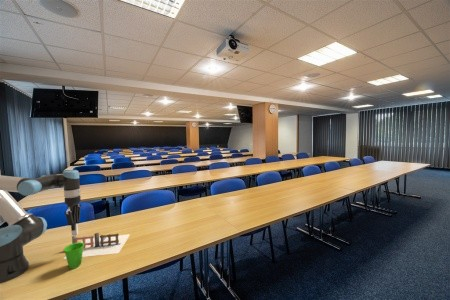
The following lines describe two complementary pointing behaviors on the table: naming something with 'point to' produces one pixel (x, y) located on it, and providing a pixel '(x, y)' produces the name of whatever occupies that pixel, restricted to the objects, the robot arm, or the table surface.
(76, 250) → the cup
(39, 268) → the table surface
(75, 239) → the fence swing
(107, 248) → the card
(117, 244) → the fence fixed
